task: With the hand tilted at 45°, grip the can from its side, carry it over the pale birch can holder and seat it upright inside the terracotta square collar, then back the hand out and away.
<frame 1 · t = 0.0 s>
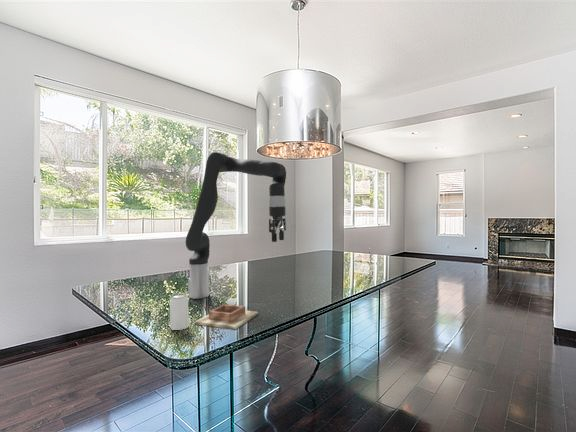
hand: (278, 240, 142), 29 cm above the table, tool pointing down, fingers open, 8 cm apart
can holder: (227, 318, 123), on the table
can: (179, 328, 114), on the table
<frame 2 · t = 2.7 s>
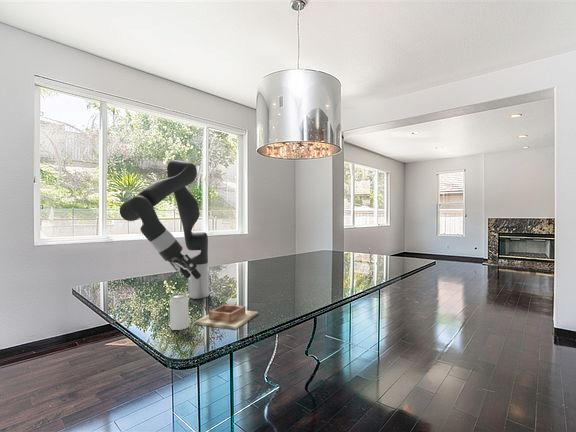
hand: (193, 277, 116), 18 cm above the table, tool tilted 35°, fingers open, 8 cm apart
nothing on the table moved.
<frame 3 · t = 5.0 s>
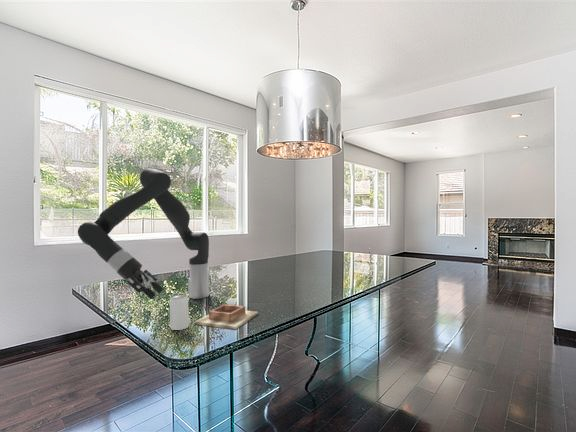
hand: (157, 294, 113), 13 cm above the table, tool tilted 45°, fingers open, 8 cm apart
nothing on the table moved.
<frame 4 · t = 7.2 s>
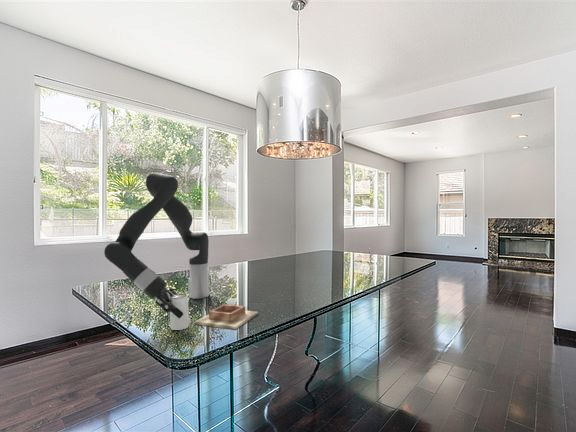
hand: (183, 313, 114), 5 cm above the table, tool tilted 45°, fingers closed on can, 6 cm apart
can: (179, 328, 114), on the table, touching gripper
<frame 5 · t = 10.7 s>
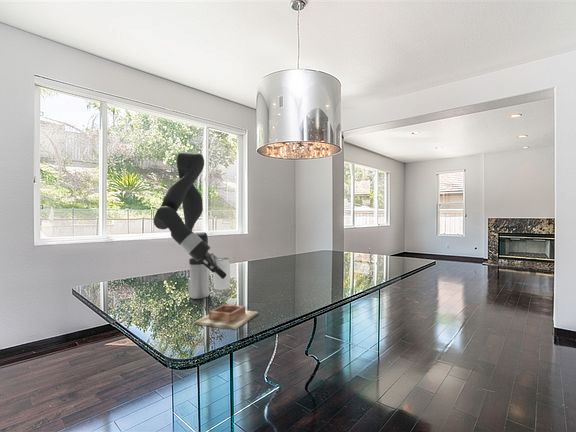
hand: (225, 275, 122), 18 cm above the table, tool tilted 45°, fingers closed on can, 6 cm apart
can: (222, 289, 122), point 12 cm above the table, touching gripper
when the fingers open (8 cm above the table, at t = 14.0 s): can drops 1 cm, resting on can holder.
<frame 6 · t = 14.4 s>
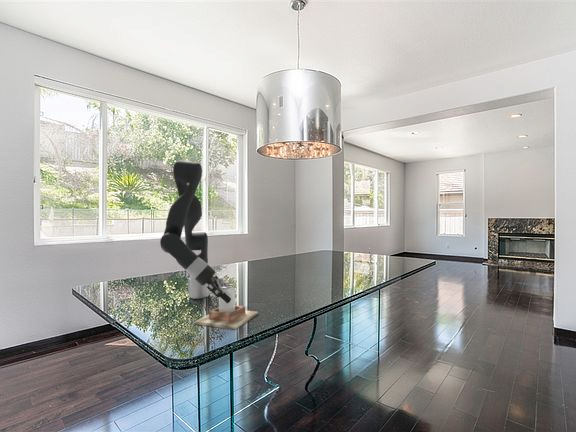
hand: (230, 298, 123), 8 cm above the table, tool tilted 45°, fingers open, 8 cm apart
can: (227, 316, 123), point 1 cm above the table, touching can holder
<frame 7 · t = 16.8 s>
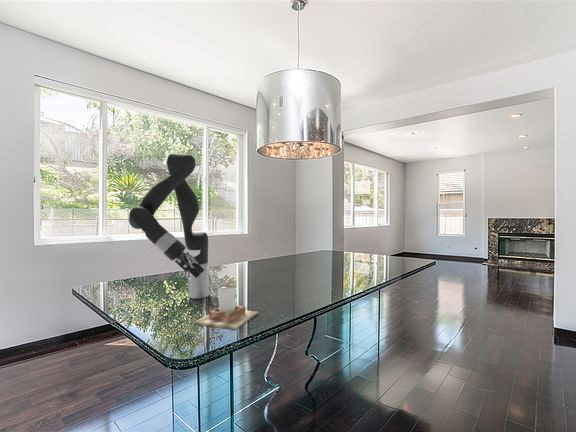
hand: (200, 273, 122), 18 cm above the table, tool tilted 45°, fingers open, 8 cm apart
nothing on the table moved.
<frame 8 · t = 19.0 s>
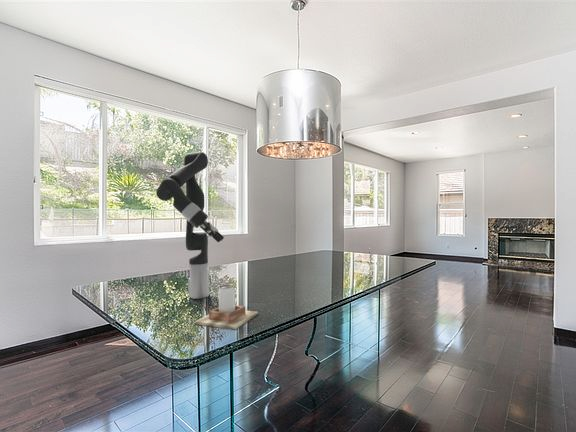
hand: (221, 240, 137), 31 cm above the table, tool tilted 45°, fingers open, 8 cm apart
nothing on the table moved.
at the end: can 0.4 cm off-centre on the can holder, point 0.8 cm above the can holder's base; can tilted 0°; the gripper is holding nothing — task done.
